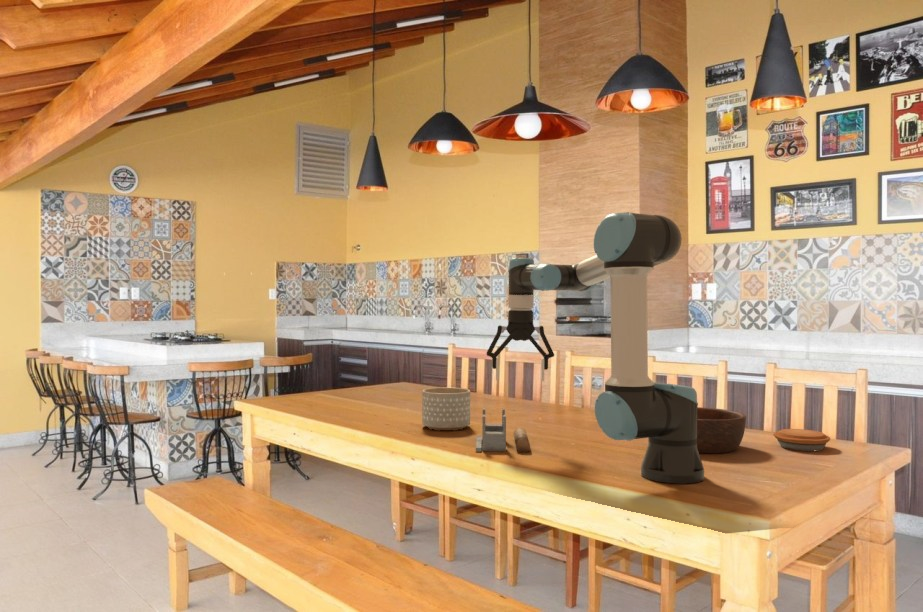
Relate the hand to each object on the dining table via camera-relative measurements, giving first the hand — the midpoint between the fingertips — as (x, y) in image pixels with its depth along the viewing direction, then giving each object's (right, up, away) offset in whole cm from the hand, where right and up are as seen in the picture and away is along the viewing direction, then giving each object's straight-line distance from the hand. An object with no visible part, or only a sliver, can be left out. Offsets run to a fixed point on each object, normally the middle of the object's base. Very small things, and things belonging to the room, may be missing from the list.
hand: (519, 380), depth 217 cm
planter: (-23, -20, +31) cm, 43 cm away
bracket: (-8, -20, 0) cm, 21 cm away
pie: (+84, -20, -1) cm, 87 cm away
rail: (0, -20, 0) cm, 20 cm away
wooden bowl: (+54, -20, -1) cm, 58 cm away
